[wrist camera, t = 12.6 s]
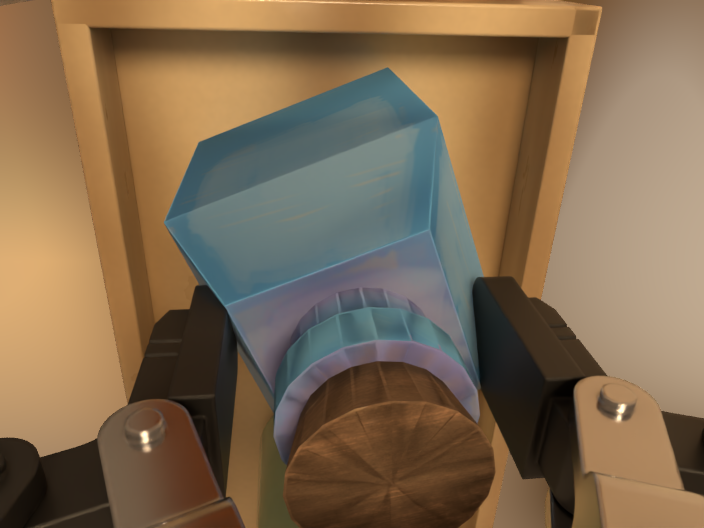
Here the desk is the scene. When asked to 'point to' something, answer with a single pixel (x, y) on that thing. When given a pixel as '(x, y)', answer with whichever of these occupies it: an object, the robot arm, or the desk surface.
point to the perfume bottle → (349, 301)
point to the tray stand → (298, 85)
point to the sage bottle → (271, 484)
